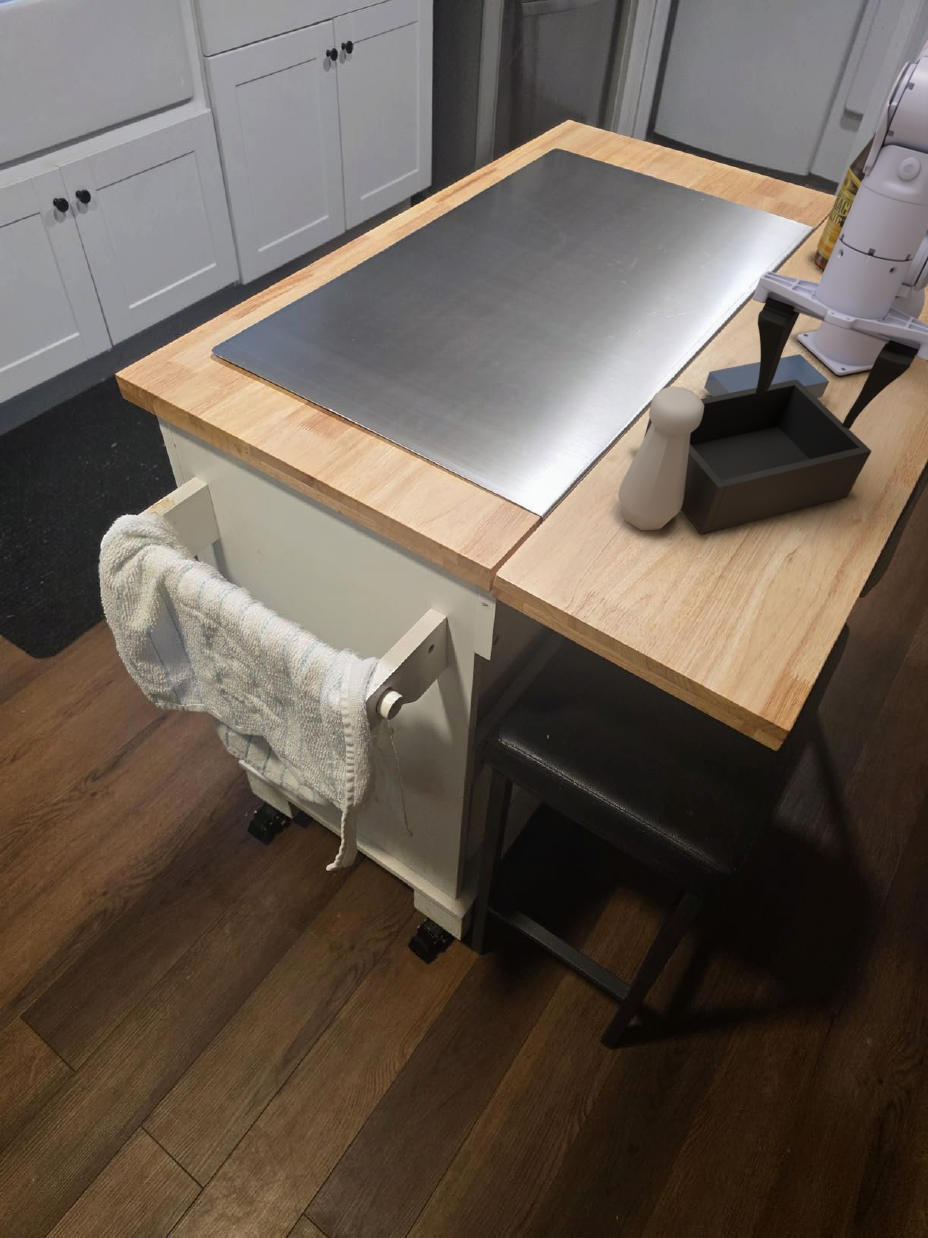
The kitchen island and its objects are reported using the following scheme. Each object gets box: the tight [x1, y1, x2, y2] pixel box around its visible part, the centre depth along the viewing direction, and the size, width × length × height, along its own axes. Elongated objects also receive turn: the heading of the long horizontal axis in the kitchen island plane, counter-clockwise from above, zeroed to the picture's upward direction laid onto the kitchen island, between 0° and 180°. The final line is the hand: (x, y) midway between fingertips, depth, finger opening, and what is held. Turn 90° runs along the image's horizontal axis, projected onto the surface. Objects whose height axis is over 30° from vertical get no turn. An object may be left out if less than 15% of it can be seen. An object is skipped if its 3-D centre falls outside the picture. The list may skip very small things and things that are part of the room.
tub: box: [643, 379, 873, 535], centre depth 83 cm, size 17×12×6 cm
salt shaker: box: [617, 385, 704, 531], centre depth 75 cm, size 6×6×13 cm
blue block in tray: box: [703, 353, 830, 399], centre depth 92 cm, size 5×12×3 cm, turn 112°
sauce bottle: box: [814, 131, 876, 271], centre depth 106 cm, size 6×6×20 cm
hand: (804, 406), depth 75 cm, fingers open, 7 cm apart
